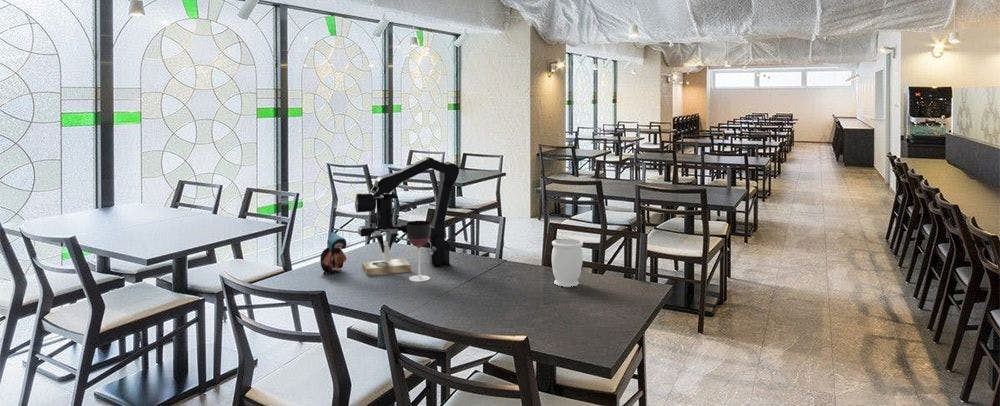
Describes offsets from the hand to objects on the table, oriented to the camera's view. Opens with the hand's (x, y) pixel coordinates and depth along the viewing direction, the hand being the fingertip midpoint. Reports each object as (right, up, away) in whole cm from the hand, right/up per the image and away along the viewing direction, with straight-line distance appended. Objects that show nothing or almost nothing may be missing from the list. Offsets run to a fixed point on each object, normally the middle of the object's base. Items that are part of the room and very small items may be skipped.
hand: (385, 252), depth 237 cm
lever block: (0, -7, +1) cm, 7 cm away
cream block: (-2, -4, 0) cm, 5 cm away
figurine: (-18, -7, -2) cm, 20 cm away
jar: (+65, -10, -15) cm, 68 cm away
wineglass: (+14, -9, -9) cm, 18 cm away
